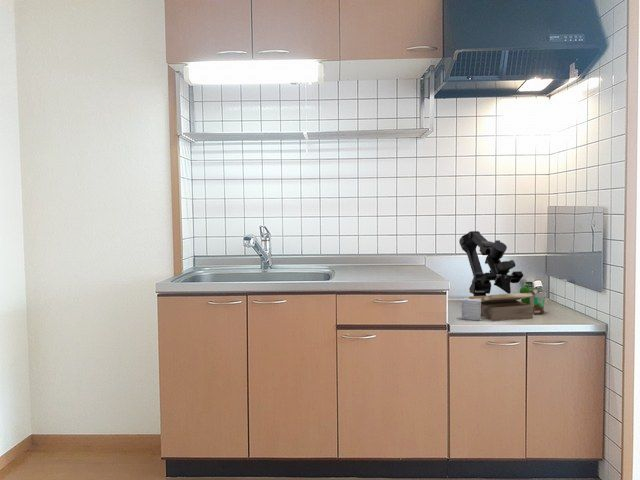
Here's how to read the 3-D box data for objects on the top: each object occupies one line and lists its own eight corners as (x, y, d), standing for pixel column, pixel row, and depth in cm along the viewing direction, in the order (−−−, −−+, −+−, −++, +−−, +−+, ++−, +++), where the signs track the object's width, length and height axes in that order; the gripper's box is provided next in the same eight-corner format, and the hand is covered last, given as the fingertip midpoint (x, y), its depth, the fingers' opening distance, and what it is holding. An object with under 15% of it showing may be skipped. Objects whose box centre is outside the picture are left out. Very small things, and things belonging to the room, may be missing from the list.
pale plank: (477, 302, 234) (477, 299, 234) (516, 300, 239) (516, 297, 239) (492, 298, 223) (491, 294, 223) (532, 296, 228) (531, 292, 228)
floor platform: (468, 311, 242) (468, 296, 242) (506, 308, 247) (506, 294, 246) (492, 320, 223) (492, 304, 222) (533, 318, 228) (533, 302, 227)
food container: (548, 315, 233) (549, 293, 232) (534, 314, 234) (534, 293, 233) (542, 309, 245) (543, 288, 244) (529, 309, 246) (529, 288, 245)
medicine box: (480, 318, 227) (481, 299, 227) (480, 320, 223) (480, 301, 222) (462, 317, 230) (462, 298, 229) (461, 319, 226) (461, 300, 225)
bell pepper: (534, 302, 263) (534, 282, 262) (539, 305, 255) (539, 285, 254) (517, 301, 264) (517, 282, 263) (521, 305, 256) (522, 285, 255)
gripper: (484, 254, 229) (498, 283, 219) (521, 253, 233) (536, 281, 223) (474, 270, 237) (487, 298, 227) (510, 268, 242) (525, 296, 232)
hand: (509, 293), depth 227 cm, fingers closed
